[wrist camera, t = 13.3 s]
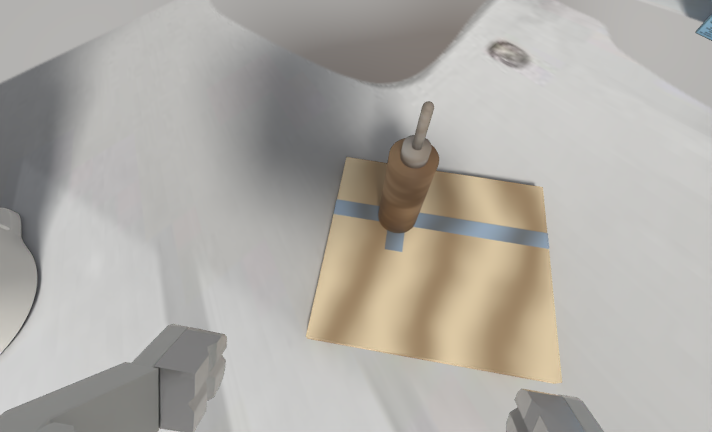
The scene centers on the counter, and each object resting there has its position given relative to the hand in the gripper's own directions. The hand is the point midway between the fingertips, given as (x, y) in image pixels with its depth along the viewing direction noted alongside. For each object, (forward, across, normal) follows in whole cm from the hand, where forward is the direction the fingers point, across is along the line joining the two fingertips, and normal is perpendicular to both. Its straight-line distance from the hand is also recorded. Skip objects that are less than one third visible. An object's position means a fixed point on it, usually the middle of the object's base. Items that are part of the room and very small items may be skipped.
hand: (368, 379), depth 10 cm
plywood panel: (+23, -6, +5) cm, 24 cm away
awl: (+24, -2, +2) cm, 24 cm away
